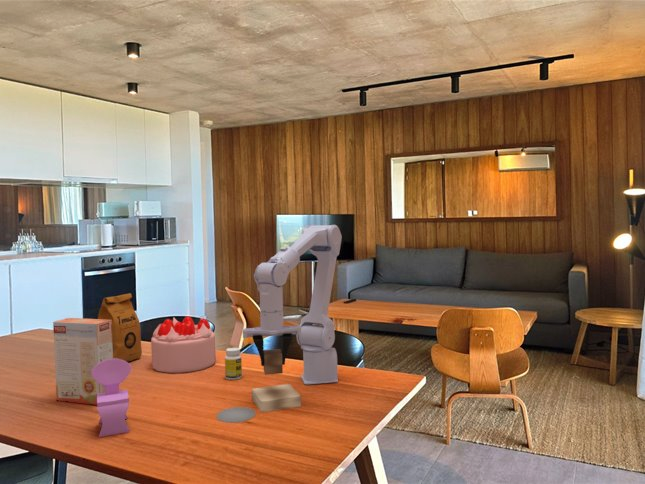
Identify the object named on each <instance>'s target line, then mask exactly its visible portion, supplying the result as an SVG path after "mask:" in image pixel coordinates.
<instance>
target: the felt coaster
mask: <svg viewBox="0 0 645 484" xmlns="http://www.w3.org/2000/svg"><path fill="white" fill-rule="evenodd" d="M255 416H256V411H255V410H254V409H253V408H249V407H245V406H242V407H241V406H238V407H236V406H235V407H230V408H225V409H223V410H220V411H219V412H218V413H217V414H216V419H217V420H218V421H220V422H222V423H229V424H235V423H236V424H237V423H242V422H243V423H244V422H247V421H250V420H251V419H253V418H254V417H255Z"/></svg>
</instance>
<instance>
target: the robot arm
mask: <svg viewBox="0 0 645 484" xmlns="http://www.w3.org/2000/svg"><path fill="white" fill-rule="evenodd" d="M342 236H343V235H342V233H341V230H340V228H339V227H338V225H336V224H331V225H330V224H329V225H326V224H324V225H323V224H322V225H320V224H319V225H313V224H308V225H306V226H305V227H304V228H303V229H302V230H301V235H299V237H298V238H297V239H296V240H295V241H294V243H293V244H291V246H281V247H280V248H279V251H278V252H277V253H276V254H274V256H271V257H270V258H269V260H268V261H267V262H261V263H260V264H259V265H257V267H256V268H255V272H254V274H253V279H254V281H255V283H256V285H257V288H256V289H257V292H258V293H259V316H260V323H259V324H260V326H257V327H251V328H250V327H248V328H242V338H243V339H247V338H252V341H253V343H254V345H255V347H256V350H257V352H258V354H259V358H260V365H261V367H264V350H265V349H264V346H265V345H264V337H272V336H273V337H274V336H280V344H281V345H280V346H281V352H282V366H283V365H285V364H286V358H287V355H288V351H289V347H290V346H291V343H292V341H293V335H296V342H297V344H298V345H299V346H300V349H301V350H302V358H303V360H302V361H303V364H302V365H303V374H300V378H301V380H302V382H303V384H304V385H317V384H328V383H329V384H330V383H331V384H332V383H338V382H339V379H338V355H337V354H338V353H337V349H336V348H335V347H333V345H334V343H335V340H336V334H335V325H336V324H335V322H334V321H333V320H332V319H331V318H330V317H329V314H328V313H329V308H330V302H331V294H332V288H333V284H334V276H335V269H336V263H337V259H338V258H337V257H338V256H339V255H340V250H341V244H342ZM308 251H310V253H311V254H312V255H313V256H315V257H316V259H317V264H316V270H315V271H316V272H315V276H314V283H313V290H312V294H311V301H310V306H309V312H308V313H307V314H306V315H304V316H303V317H302V318H301V319H300V324H299V325H284V298H283V296H284V295H283V294H284V292H283V291H284V289H283V285H285V284H286V283H287V279H288V276H289V275H290V272H291V271H292V270H293V269H294V268H295V267H297V266H298V264H299V263H300V260H301V256H302V255H304V254H305V253H306V252H308Z"/></svg>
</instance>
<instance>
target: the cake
mask: <svg viewBox="0 0 645 484" xmlns="http://www.w3.org/2000/svg"><path fill="white" fill-rule="evenodd" d="M150 340H151V341H150V344H151V349H150V350H151V367H152V368H153V370H155V371H157V372H160V373H168V374H181V373H192V372H196V371H200V370H204V369H207V368H210V367H211V366H212V367H213V365H215V363H216V359H217V356H216V353H217V352H216V334H215V332H213V330H212V328H211V325H210V323H209V321H208V320H207V319H205V318H203V317H202V316H201V317H200V320H199V322H198V324H195V322H194V320H193V318H192V317H191V316H189V315H188V316H185V317H184V318H183V320H182V322H181V321H178V320H177V319H176V318H175V317H174V316H173V318H172V320H171V319H170V318H166V319H165V320H164V322H163V323H159V324H158V325H157V327H156V328H155V329H154V331H153V333H152V337H151V338H150Z"/></svg>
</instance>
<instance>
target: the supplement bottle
mask: <svg viewBox="0 0 645 484" xmlns="http://www.w3.org/2000/svg"><path fill="white" fill-rule="evenodd" d="M242 368H243V367H242V355H241V348H239V347H227V348H226V349H225V357H224V369H225V370H224V371H225V372H224V375H225V376H224V377H225V379H226V380H230V381H235V380H236V381H237V380H240V379H241V378H242V377H243V376H242V375H243V369H242Z"/></svg>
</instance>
